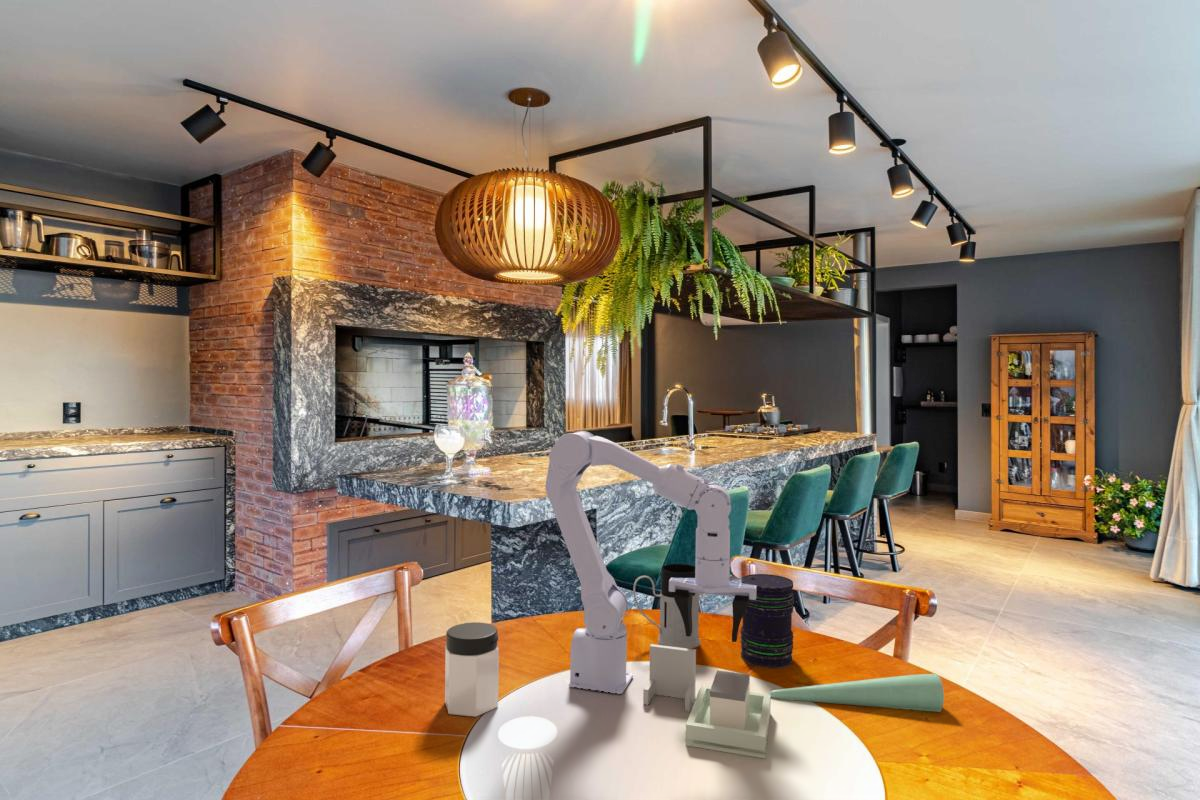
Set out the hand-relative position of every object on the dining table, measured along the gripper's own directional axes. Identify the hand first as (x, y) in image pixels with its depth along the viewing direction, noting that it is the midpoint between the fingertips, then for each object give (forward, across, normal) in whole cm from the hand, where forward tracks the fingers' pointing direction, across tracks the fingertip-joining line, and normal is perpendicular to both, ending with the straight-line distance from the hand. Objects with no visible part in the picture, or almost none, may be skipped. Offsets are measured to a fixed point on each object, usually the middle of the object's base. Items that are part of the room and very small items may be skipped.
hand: (711, 637), depth 113 cm
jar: (+10, -36, -17) cm, 41 cm away
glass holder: (+10, -12, +21) cm, 26 cm away
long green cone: (+10, +23, +4) cm, 25 cm away
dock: (+9, -6, -5) cm, 12 cm away
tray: (+9, +4, -12) cm, 16 cm away
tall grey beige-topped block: (+8, +4, -12) cm, 15 cm away
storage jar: (+10, +8, +19) cm, 23 cm away
